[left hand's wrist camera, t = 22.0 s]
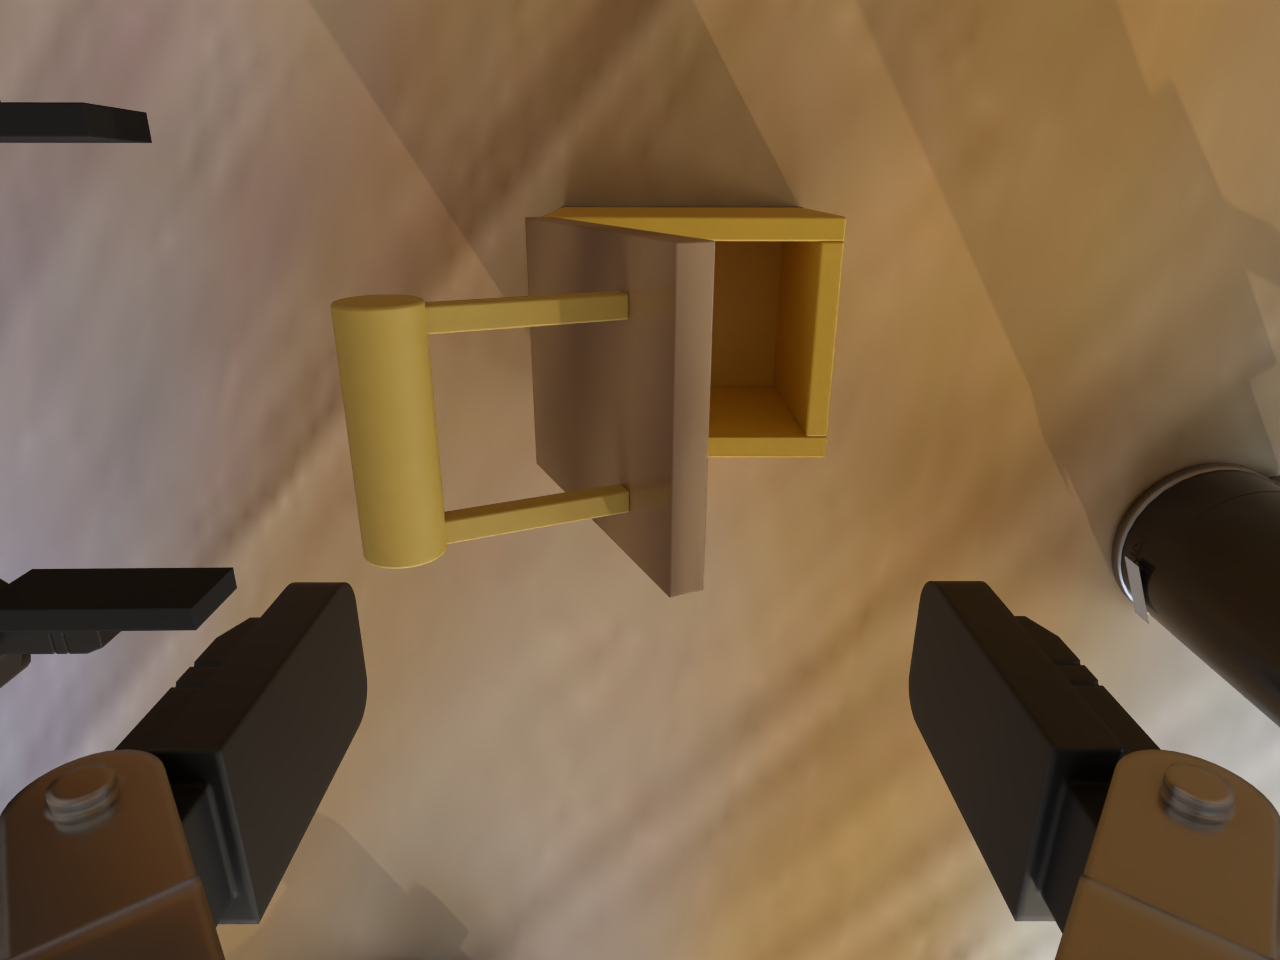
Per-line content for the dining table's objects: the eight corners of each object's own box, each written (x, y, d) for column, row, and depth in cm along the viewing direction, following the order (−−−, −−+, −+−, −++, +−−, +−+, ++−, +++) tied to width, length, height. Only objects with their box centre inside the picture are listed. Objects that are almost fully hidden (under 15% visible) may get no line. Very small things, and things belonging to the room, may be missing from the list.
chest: (799, 206, 39) (847, 216, 30) (786, 398, 42) (825, 457, 33) (563, 206, 39) (540, 215, 30) (568, 397, 42) (550, 457, 33)
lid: (716, 240, 19) (334, 253, 16) (704, 591, 23) (387, 662, 19) (552, 216, 29) (300, 221, 26) (561, 460, 33) (338, 492, 30)
